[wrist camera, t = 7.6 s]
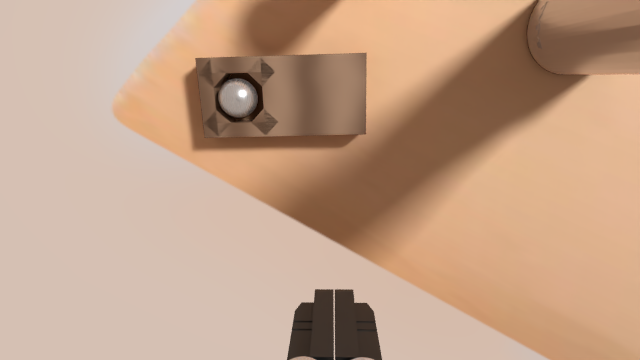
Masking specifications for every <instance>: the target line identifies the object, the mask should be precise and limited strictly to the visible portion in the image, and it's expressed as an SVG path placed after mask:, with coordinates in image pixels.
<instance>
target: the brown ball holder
mask: <svg viewBox="0 0 640 360" xmlns="http://www.w3.org/2000/svg"><path fill="white" fill-rule="evenodd" d="M195 59H196V68H197V76H198V84H199V93H200V101H201V110H202V118H203V126H204V135H205V138H220V137H265V136H309V135H354V134H366V53H349V54H317V55H284V56H252V57H219V58H195ZM232 73H248V74H249V75H250V76H251V77H253V78H254V79H255V80H256V81H257V82H258V83H259V84H260V85H261V86H262V91H263V105H264V109H263V110H262V111H261V112H260V113H259V114H258V115H257V117H256V118H255V119H254V120H236V119H235V118H234V117H232V116H230V115H228V114H227V113H225V112H224V111H223V109H222V108H221V106H220V104H219V100H218V94H219V90H220V88H221V86H222V85H223V84H224V83H225V82H226V80H227V79H228V78H229V77H230V76H231V74H232Z"/></svg>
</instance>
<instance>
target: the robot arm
mask: <svg viewBox="0 0 640 360" xmlns="http://www.w3.org/2000/svg"><path fill="white" fill-rule="evenodd" d="M527 40H528V45H529V49H530V52H531V54H532V56H533V58H534V59H535V60H536V62H537V63H538V64H539V65H540V66H542V67H543V68H544V69H546V70H548V71H550V72H553V73H557V74H562V75H563V74H590V75H603V74H640V0H539V1H538V3H537V4H536V6H535V7H534V10H533V12H532V14H531V16H530V20H529V24H528V29H527ZM333 335H334V332H333V290H318V289H317V290H315V298H314V303H301V304H300V306H299V307H298V308H297V309H296V311H295V314H294V321H293V327H292V333H291V339H290V346H289V351H288V357H287V360H334V359H333V358H334V355H333V353H334V352H333V351H334V344H333V343H334V341H333V340H334V338H333V337H334V336H333ZM335 360H382V358H381V352H380V345H379V340H378V334H377V329H376V323H375V316H374V312H373V310H372V309H371V308H370V306H369V305H368V304H367V303H354V295H353V290H335Z"/></svg>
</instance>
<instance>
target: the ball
mask: <svg viewBox="0 0 640 360" xmlns="http://www.w3.org/2000/svg"><path fill="white" fill-rule="evenodd" d="M218 100H219V104H220V106H221V108H222V109H223V111H224V112H225V113H227V114H228V115H230V116H232V117H236V118H242V117H246V116H248V115H250V114H251V113H252V112H253V111H254V110H255V108H256V106H257V102H258V96H257V92H256V90H255V88H254V87H253V85H252V84H251V83H249V82H248V81H246V80H244V79H240V78H234V79H230V80H228V81H226V82H225V83H224V84H223V85H222V86H221V88H220V90H219V94H218Z"/></svg>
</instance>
